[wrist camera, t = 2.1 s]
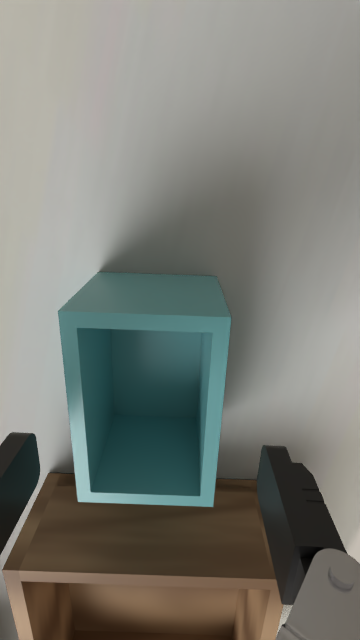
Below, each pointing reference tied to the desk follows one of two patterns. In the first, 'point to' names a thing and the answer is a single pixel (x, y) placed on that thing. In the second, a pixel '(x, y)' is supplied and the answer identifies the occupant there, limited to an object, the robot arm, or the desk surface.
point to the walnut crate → (143, 568)
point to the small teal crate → (146, 386)
